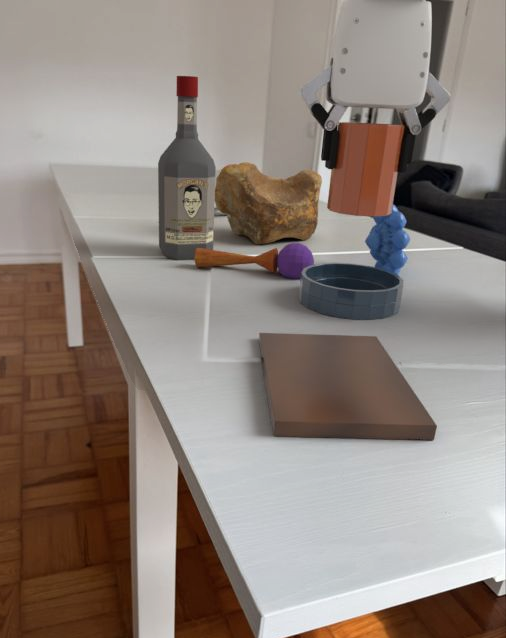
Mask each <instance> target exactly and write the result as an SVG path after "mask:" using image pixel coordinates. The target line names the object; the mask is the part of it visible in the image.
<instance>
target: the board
mask: <svg viewBox="0 0 506 638" xmlns="http://www.w3.org/2000/svg"><path fill="white" fill-rule="evenodd" d="M258 344H259V349H260V355H261V357H260V361H261V367H262V374H263V379H264V385H265V386H264V387H265V392H266V396H267V403H268V409H269V410H268V411H269V416H270V422H271V428H272V434H273V437H294V438H295V437H296V438H332V439H333V438H335V439H369V440H371V439H373V440H375V439H376V440H408V439H417V440H416V441H434V440H435V436H436V432H437V429H438V425H437V423H436V422H435V421H434V419H433V417H432V416H431V415H430V413H429V412H428V410H427V408H426V407H425V406H424V404H423V403H422V401H421V400H420V399H419V397H418V396H417V394H416V392H415V391H414V390H413V389H412V387H411V385H410V384H409V382H408V381H407V380H406V377H404V375H403V373H402V372H401V371H400V369H399V368H398V366H397V364H396V363H395V362H394V360H393V359H392V357H391V356H390V354H389V353H388V351H387V350H386V349H385V347H384V345H383V343H382V342H381V341H380V340H379V338H378V337H377V336H375V335H374V336H373V335H341V334H317V333H315V334H313V333H312V334H311V333H283V332H280V333H279V332H259V333H258ZM418 439H420V440H418ZM421 439H423V440H421ZM428 439H429V440H428ZM431 439H432V440H431Z"/></svg>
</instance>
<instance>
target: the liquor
mask: <svg viewBox="0 0 506 638" xmlns="http://www.w3.org/2000/svg"><path fill="white" fill-rule="evenodd" d="M176 97H177V112H176V113H177V114H176V115H177V117H176V118H177V119H176V120H177V122H176V124H177V125H176V132H175V137H174V139H173V140H172V141H171V142H170V144H169V145H168V146H167V148H166V149H165V150H164V151H163V152H162V154H161V155H160V157H159V159H158V162H157V176H158V177H157V178H158V179H157V181H158V182H157V183H158V184H157V185H158V192H157V193H158V194H157V195H158V247H159V250H160V251H161V253H162V255H164V256H165V258H166V259H172V260H177V261H184V260H185V261H187V260H195V251H196V249H197V248H203V249H209V250H214V239H215V238H214V234H215V233H214V232H215V216H214V204H215V187H216V168H217V167H216V164H215V161H214V159H213V157H212V155H211V154H210V153H209V152H208V150H207V149H206V148H205V146H204V145H203V143H202V142H201V141H200V140H199V133H198V122H197V121H198V97H199V77H198V76H191V75H176Z"/></svg>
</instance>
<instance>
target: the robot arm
mask: <svg viewBox="0 0 506 638" xmlns="http://www.w3.org/2000/svg"><path fill="white" fill-rule="evenodd" d="M338 11H339V12H338V16H337V18H336V19H337V20H336V23H335V28H334V34H333V37H332V44H331V45H332V46H331V50H330V55H329V62H328V66H327V67H326V68H325V69H324V70H322V71H321V72H320V73H318V74H317V75H316V76H314V78H312V79H311V80H309V81H308V82H307V83H306V84H304V85H303V86H301V88H299V96H300V97H301V100H303V102H304V104H305V105H306V107H307V108H308V110H309V112H310V114H311V115H312V116H313V118H314V119H315V120H316V122H317V123H318V125H320V126H321V129H323V134H322V144H321V153H320V160H321V161H323V162H324V167H325V168H326V169H327V170H331V169H334V168H336V160H337V152H338V143H339V132H338V131H337V124H338V122H341V119H342V118H343V116H344V114H345V113H346V112H347V110H348V108H365V109H367V108H368V109H387V110H390V109H391V110H396V114H397V116H398V119H399V122H400V125H405V130H404V136H403V142H402V149H401V155H400V161H399V167H398V173H403V174H404V173H406V171H407V168H408V165H409V166H410V165H411V164H412V161H413V154H414V150H415V144H416V136H417V135H419V134H420V133H421V131H422V130H423V129H424V128H425V127H426V126H428V124H430V123H431V122H432V121H433V120H434V119H435V118H436V116H437V115H438V114H439V113H440V112H441V111H442V110H443V109H444V108H445V107H446V106H447V104H449V103H450V101H451V100H452V99H451V98H452V95H451V94H450V93H449V92H448V91H447V90H446V88H445V87H444V86H443V85H442V84H441V83H440V82H439V80H437V78H436V77H435V76H434V75H433V74H432V73H431V72H430V63H431V51H432V31H433V30H432V27H433V26H432V25H433V22H432V21H433V11H432V2H431V1H428V0H344V1H342V2H341V5H340V8H339V10H338ZM324 87H325V99H326V101H327V102H328V103H330V104H331V106H330V108H329V109H328V111H327V110H326V109H325V108H324V106H323V104H321V103H320V101H319V99H318V97H317V92H318V91H319V90H321V89H322V88H324ZM426 93H427V94H428V96H430V102H429V103H428V104H427V105H426V106H425V107H424V108H423V109H422V110H421V111H419V112H418V113H417V110H416V108H417V107H419V106H420V105H421V104H422V103H423V102H424V99H425V95H426Z"/></svg>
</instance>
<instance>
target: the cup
mask: <svg viewBox="0 0 506 638" xmlns="http://www.w3.org/2000/svg"><path fill="white" fill-rule="evenodd" d="M404 130H405V125H401V124H394V123H391V124H390V123H377V122H375V123H374V122H355V121H354V122H352V121H351V122H350V121H339V122H338V124H337V131H338V132H339V143H338V152H337V160H336V168H334V169H330V179H329V187H328V188H329V189H328V196H327V204H326V205H327V206H326V208H327V209H328V210H329V212H333V213H337V214H341V215H348V216H355V217H356V216H357V217H372V218H374V217H375V216H387V215H389V214H391V211H392V205H394V200H395V199H394V197H395V192H396V185H397V180H398V173H399V172H398V167H399V161H400V155H401V149H402V142H403V136H404Z"/></svg>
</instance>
